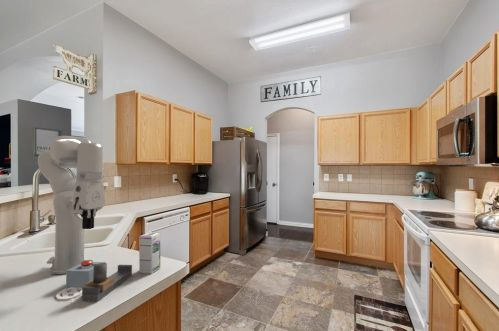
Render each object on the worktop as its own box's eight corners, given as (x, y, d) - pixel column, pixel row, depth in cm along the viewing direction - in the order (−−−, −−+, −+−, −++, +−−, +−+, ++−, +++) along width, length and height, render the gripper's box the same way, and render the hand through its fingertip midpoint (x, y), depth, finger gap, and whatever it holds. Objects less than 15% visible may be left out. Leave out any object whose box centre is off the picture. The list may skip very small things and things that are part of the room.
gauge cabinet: (65, 288, 78) (66, 270, 78) (84, 277, 86) (84, 261, 86) (88, 289, 77) (88, 271, 77) (105, 278, 85) (105, 262, 85)
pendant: (81, 286, 80) (81, 284, 80) (87, 298, 72) (88, 296, 72) (54, 294, 75) (54, 291, 75) (58, 308, 67) (58, 305, 67)
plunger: (78, 274, 80) (78, 263, 80) (85, 270, 83) (86, 259, 84) (87, 274, 80) (87, 263, 80) (94, 270, 83) (94, 260, 83)
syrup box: (152, 274, 89) (152, 236, 89) (138, 272, 90) (139, 235, 91) (160, 268, 95) (161, 232, 95) (147, 267, 96) (148, 231, 96)
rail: (81, 301, 70) (82, 287, 70) (119, 275, 88) (119, 264, 88) (97, 301, 70) (97, 288, 70) (131, 275, 88) (132, 264, 88)
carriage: (84, 290, 72) (85, 267, 72) (96, 283, 77) (97, 261, 77) (103, 291, 71) (103, 268, 72) (113, 283, 76) (114, 262, 77)
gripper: (82, 177, 75) (81, 234, 75) (113, 176, 90) (112, 224, 90) (61, 177, 76) (59, 233, 75) (94, 176, 91) (93, 223, 90)
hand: (88, 228), depth 82 cm, fingers closed
